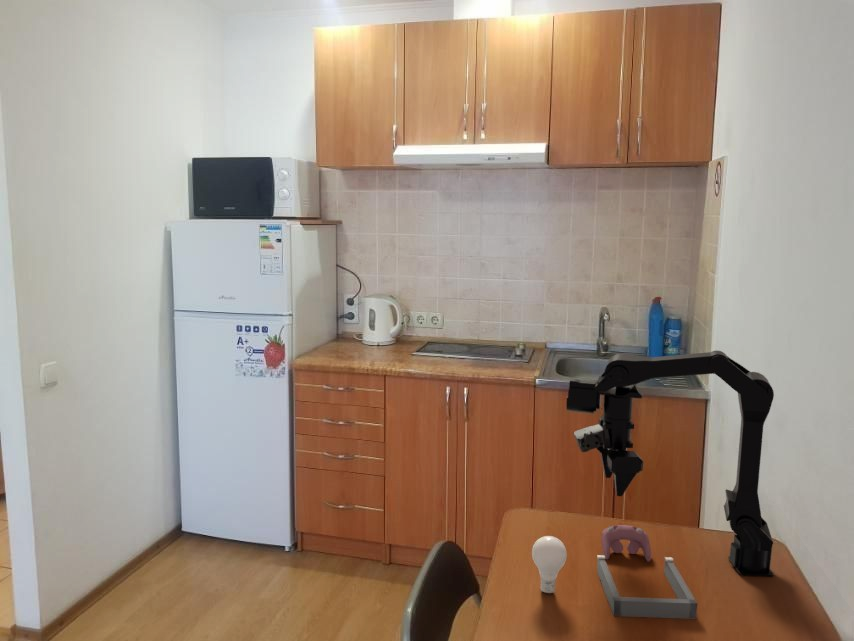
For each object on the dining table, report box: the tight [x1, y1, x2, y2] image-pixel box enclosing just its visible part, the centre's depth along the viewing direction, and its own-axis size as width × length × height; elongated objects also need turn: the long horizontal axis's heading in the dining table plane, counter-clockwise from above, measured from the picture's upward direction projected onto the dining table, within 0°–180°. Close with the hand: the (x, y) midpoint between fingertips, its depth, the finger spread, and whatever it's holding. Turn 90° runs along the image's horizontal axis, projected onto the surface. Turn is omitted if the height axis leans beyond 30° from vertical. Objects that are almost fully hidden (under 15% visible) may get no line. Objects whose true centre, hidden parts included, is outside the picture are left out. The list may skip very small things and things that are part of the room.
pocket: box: [596, 554, 698, 620], centre depth 125 cm, size 15×15×3 cm
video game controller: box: [601, 524, 652, 563], centre depth 139 cm, size 10×5×7 cm, turn 84°
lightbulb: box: [531, 535, 567, 594], centre depth 124 cm, size 6×6×11 cm
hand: (613, 486), depth 141 cm, fingers open, 9 cm apart
